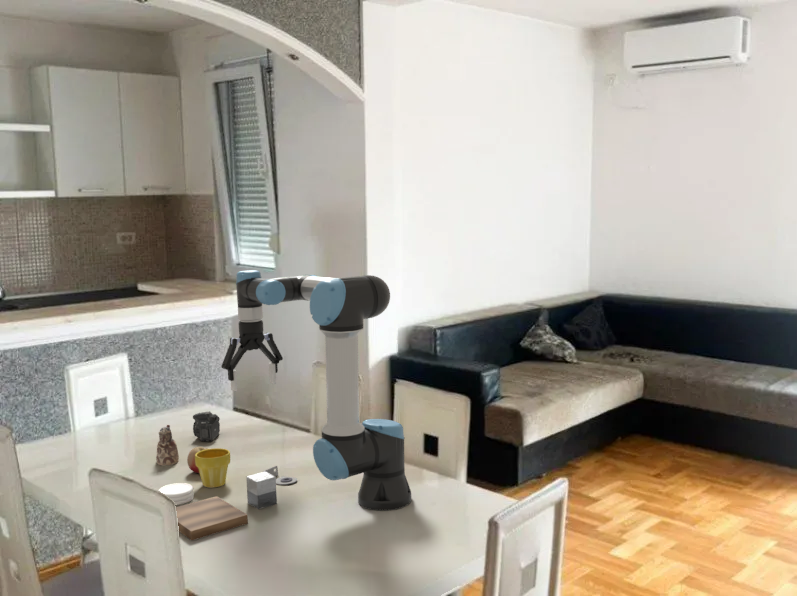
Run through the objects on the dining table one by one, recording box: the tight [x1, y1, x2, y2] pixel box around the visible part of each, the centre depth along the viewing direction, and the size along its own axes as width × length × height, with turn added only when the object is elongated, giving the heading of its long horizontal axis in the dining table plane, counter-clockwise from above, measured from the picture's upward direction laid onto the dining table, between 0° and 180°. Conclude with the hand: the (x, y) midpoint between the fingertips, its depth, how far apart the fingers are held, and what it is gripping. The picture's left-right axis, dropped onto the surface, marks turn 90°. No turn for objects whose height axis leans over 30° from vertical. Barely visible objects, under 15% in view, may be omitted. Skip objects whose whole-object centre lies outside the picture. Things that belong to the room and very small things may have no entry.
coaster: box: [157, 482, 195, 506], centre depth 233 cm, size 10×10×4 cm
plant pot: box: [195, 447, 231, 489], centre depth 245 cm, size 10×10×10 cm
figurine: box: [155, 424, 180, 466], centre depth 267 cm, size 7×7×12 cm
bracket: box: [262, 465, 298, 486], centre depth 247 cm, size 7×10×4 cm, turn 57°
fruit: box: [186, 446, 209, 474], centre depth 256 cm, size 8×8×8 cm
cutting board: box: [175, 495, 249, 542], centre depth 217 cm, size 18×16×2 cm
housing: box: [245, 471, 278, 510], centre depth 228 cm, size 6×6×8 cm
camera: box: [192, 410, 221, 442], centre depth 293 cm, size 13×10×10 cm
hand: (253, 387), depth 253 cm, fingers open, 13 cm apart
